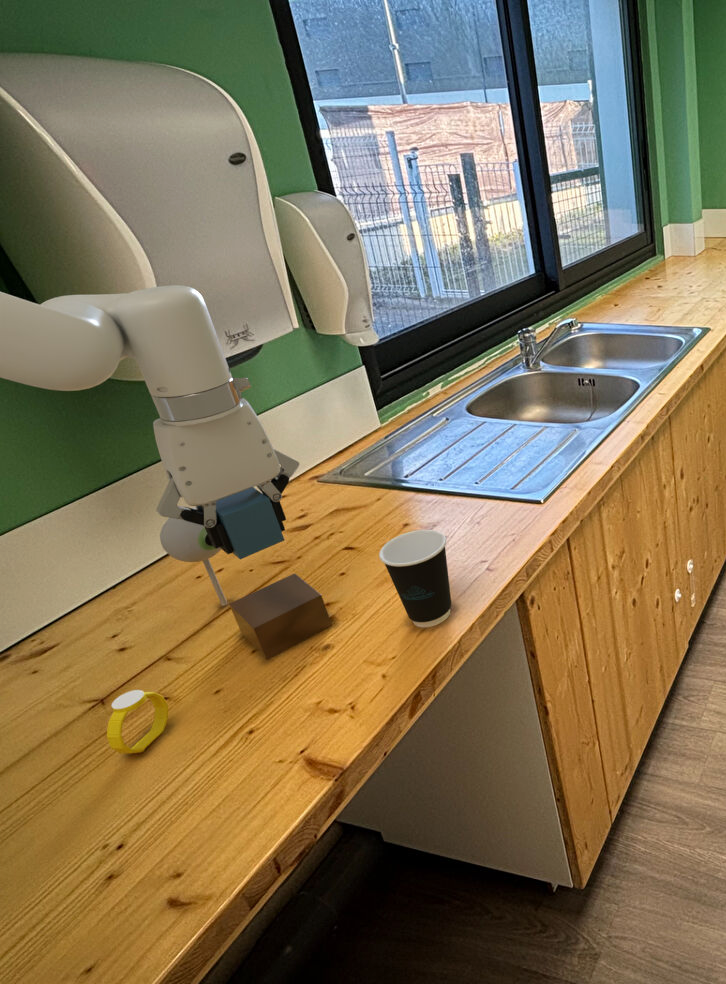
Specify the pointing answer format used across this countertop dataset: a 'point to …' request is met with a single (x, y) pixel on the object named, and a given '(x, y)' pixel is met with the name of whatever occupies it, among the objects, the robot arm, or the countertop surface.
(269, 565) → the countertop surface
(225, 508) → the top block
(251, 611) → the base block
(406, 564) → the dixie cup
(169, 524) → the lollipop
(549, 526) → the countertop surface
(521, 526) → the countertop surface
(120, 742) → the watch
